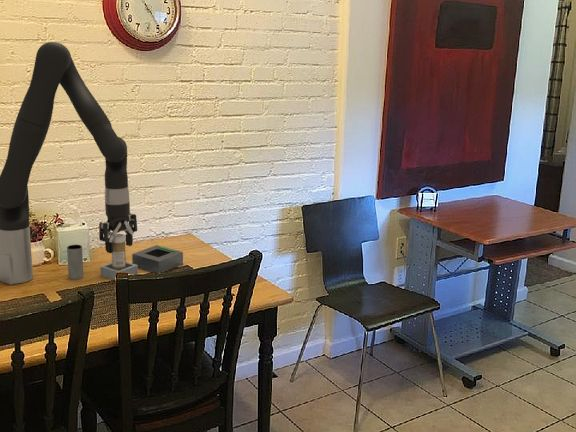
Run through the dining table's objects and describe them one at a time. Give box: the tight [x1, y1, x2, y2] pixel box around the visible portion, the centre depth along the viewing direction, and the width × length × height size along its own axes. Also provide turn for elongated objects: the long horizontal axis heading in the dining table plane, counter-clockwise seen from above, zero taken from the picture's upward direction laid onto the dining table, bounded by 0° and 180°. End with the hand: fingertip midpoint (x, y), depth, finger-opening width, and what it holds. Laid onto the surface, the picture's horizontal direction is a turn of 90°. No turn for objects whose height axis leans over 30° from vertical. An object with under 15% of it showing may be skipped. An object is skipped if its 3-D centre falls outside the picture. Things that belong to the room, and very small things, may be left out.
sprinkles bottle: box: [111, 233, 127, 271], centre depth 208 cm, size 5×5×14 cm
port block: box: [131, 244, 184, 274], centre depth 219 cm, size 12×12×5 cm
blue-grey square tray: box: [99, 261, 139, 281], centre depth 209 cm, size 8×8×3 cm
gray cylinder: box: [66, 244, 84, 281], centre depth 205 cm, size 4×4×10 cm
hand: (119, 249), depth 208 cm, fingers open, 8 cm apart
